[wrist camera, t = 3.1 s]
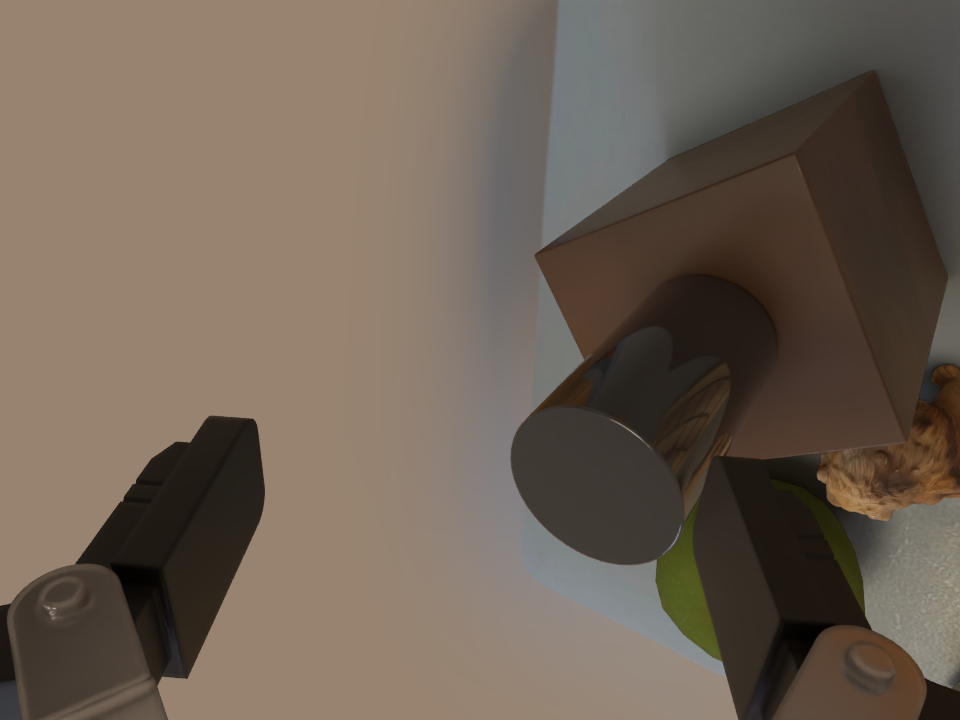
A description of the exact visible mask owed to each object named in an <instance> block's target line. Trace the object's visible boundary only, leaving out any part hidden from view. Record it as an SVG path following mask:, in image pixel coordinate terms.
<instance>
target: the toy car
mask: <svg viewBox="0 0 960 720" xmlns="http://www.w3.org/2000/svg"><path fill="white" fill-rule="evenodd" d="M952 689H954V690H957V691H960V681H959V682H958V683H957V684H956V685H955V686H954V687H953V688H952Z"/></svg>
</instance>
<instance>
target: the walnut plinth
mask: <svg viewBox="0 0 960 720" xmlns="http://www.w3.org/2000/svg"><path fill="white" fill-rule="evenodd" d="M535 258H536V260H537V262H538V264H539V266H540V268H541V270H542V273H543V275H544V277H545V279H546V281H547V283H548V285H549V287H550V289H551V291H552V293H553V295H554V298H555V300H556V302H557V304H558V306H559V308H560V310H561V312H562V314H563V316H564V318H565V320H566V322H567V325H568V327H569V329H570V331H571V333H572V335H573V337H574V339H575V341H576V343H577V345H578V347H579V350H580V352H581V354H582V356H583V358H584V360H585V359H586V358H587V357H588V356H589V354H590V353H591V352H592V351H593V350H594V349H595V348H596V347H597V346H598V345H599V344H600V343H601V342H602V341H603V340H604V339H605V338H606V337H607V336H608V335H609V334H610V333H611V332H612V331H613V330H614V329H615V328H616V327H617V326H618V325H619V324H620V323H621V322H622V321H623V320H624V319H625V318H626V317H627V316H628V315H629V314H630V313H631V312H632V311H633V310H634V309H635V308H636V307H637V306H638V305H639V304H640V303H641V302H642V301H643V300H644V299H645V298H646V297H647V295H648V294H649V293H650V292H651V291H652V290H654V289H655V288H656V287H658V286H659V285H661V284H662V283H664V282H666V281H668V280H671V279H673V278H677V277H681V276H687V275H706V276H713V277H716V278H720V279H723V280H726V281H728V282H731V283H733V284H735V285H737V286H738V287H740V288H742V289H743V290H745V291H746V292H747V293H749V294H750V295H751V296H752V297H753V298H754V299H756V300H757V301H758V303H759V304H760V305H761V306H762V307H763V308H764V310H765V311H766V313H767V314H768V316H769V318H770V320H771V322H772V324H773V326H774V329H775V332H776V337H777V342H778V356H777V362H776V365H775V369H774V371H773V373H772V375H771V377H770V379H769V381H768V382H767V384H766V386H765V388H764V389H763V391H762V393H761V395H760V397H759V398H758V400H757V402H756V404H755V405H754V407H753V409H752V411H751V413H750V414H749V416H748V418H747V420H746V421H745V423H744V425H743V427H742V428H741V430H740V432H739V434H738V436H737V437H736V439H735V441H734V443H733V444H732V446H731V448H730V450H729V452H728V453H727V455H726V456H730V457H743V458H756V459H760V460H763V459H772V458H781V457H789V456H798V455H807V454H816V453H824V452H833V451H842V450H850V449H859V448H868V447H877V446H885V445H894V444H903V443H907V442H908V438H909V433H910V429H911V425H912V421H913V417H914V413H915V409H916V405H917V401H918V397H919V393H920V389H921V385H922V381H923V377H924V373H925V369H926V365H927V361H928V357H929V353H930V349H931V345H932V341H933V337H934V333H935V329H936V325H937V321H938V317H939V313H940V309H941V305H942V301H943V297H944V292H945V288H946V284H947V280H948V277H947V274H946V272H945V269H944V266H943V263H942V260H941V257H940V255H939V252H938V249H937V246H936V243H935V240H934V238H933V235H932V232H931V229H930V226H929V223H928V220H927V218H926V215H925V212H924V209H923V206H922V203H921V201H920V198H919V195H918V192H917V189H916V186H915V183H914V181H913V178H912V175H911V172H910V169H909V166H908V164H907V161H906V158H905V155H904V152H903V149H902V147H901V144H900V141H899V138H898V135H897V132H896V129H895V127H894V124H893V121H892V118H891V115H890V112H889V110H888V107H887V104H886V101H885V98H884V95H883V93H882V90H881V87H880V84H879V81H878V78H877V75H876V73H875V71H874V70H872V71H869V72H867V73H865V74H862V75H860V76H858V77H856V78H853V79H851V80H849V81H846V82H844V83H842V84H840V85H837V86H835V87H833V88H830V89H828V90H826V91H824V92H821V93H819V94H817V95H815V96H812V97H810V98H808V99H805V100H803V101H801V102H799V103H796V104H794V105H792V106H789V107H787V108H785V109H783V110H780V111H778V112H776V113H773V114H771V115H769V116H767V117H764V118H762V119H760V120H757V121H755V122H753V123H751V124H748V125H746V126H744V127H742V128H739V129H737V130H735V131H732V132H730V133H728V134H726V135H723V136H721V137H719V138H716V139H714V140H712V141H710V142H707V143H705V144H703V145H700V146H698V147H696V148H694V149H691V150H689V151H687V152H685V153H682V154H680V155H678V156H675V157H673V158H671V159H669V160H667V161H665V162H664V163H663V164H661V165H660V166H658V167H657V168H656V169H654V170H653V171H651V172H650V173H648V174H647V175H646V176H644V177H643V178H641V179H640V180H639V181H637V182H636V183H634V184H633V185H632V186H630V187H629V188H627V189H626V190H625V191H623V192H622V193H620V194H619V195H618V196H616V197H615V198H613V199H612V200H611V201H609V202H608V203H606V204H605V205H603V206H602V207H601V208H599V209H598V210H596V211H595V212H594V213H592V214H591V215H589V216H588V217H587V218H585V219H584V220H582V221H581V222H580V223H578V224H577V225H575V226H574V227H573V228H571V229H570V230H568V231H567V232H566V233H564V234H563V235H561V236H560V237H558V238H557V239H556V240H554V241H553V242H551V243H550V244H549V245H547V246H546V247H544V248H543V249H542V250H540V251H539V252H537V253H536V254H535Z"/></svg>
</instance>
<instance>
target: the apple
mask: <svg viewBox="0 0 960 720" xmlns="http://www.w3.org/2000/svg"><path fill="white" fill-rule="evenodd" d="M770 480H771V482H772V484H773V486H774V488H775V489H779V490H790V491H791V492H792V493H793V494H795V495H796V496H797V497H798V498H799V499H800V500H801V501H802V502H803V503H804V504H805V505H806V506H807V507H808V508H809V509H810V510H811V511H812V512H813V513H814V515H815V517H816V519H817V521H818V523H819V525H820V527H821V529H822V531H823V533H824V535H825V536H824V539H825V540H827V541H828V543H829V545H830V547H831V549H832V551H833V553H834V560H837V561H838V563H839V565H840V567H841V569H842V571H843V573H844V575H845V577H846V579H847V581H848V583H849V585H850V587H851V589H852V591H853V593H854V595H855V597H856V599H857V601H858V603H859V605H860V607H861V609H862V611H863V613H864V615H865V605H864V590H863V580H862V576H861V572H860V568H859V564H858V561H857V557H856V553H855V550H854V548H853V546H852V544H851V542H850V540H849V538H848V536H847V534H846V532H845V530H844V528H843V526H842V524H841V523H840V522H839V520H838V519H837V518H836V517H835V516H834V514H833V513H832V512H831V511H830V509H829V508H828V507H827V506H826V505H825V504H824V503H823V502H821V501H820V500H819V499H817V498H816V497H815V496H813V495H812V494H810V493H809V492H808V491H806V490H805V489H804V488H802V487H799V486H796V485H792V484H789V483H786V482H782V481H779V480H776V479H770ZM698 506H699V505H698ZM697 510H698V507H697V508H696V510H695V512H694V514H693V515H692V517H691V519H690V521H689V522H688V524H687V526H686V528H685V530H684V531H683V533H682V535H681V537H680V538H679V540H678V542H677V543H676V544H675V546H674V547H673V548H672V549H671V550H670V551H669V552H668V553H666V554H665V555H663V556H662V557H660V558H658V559H657V568H656V584H657V588H658V592H659V596H660V600H661V604H662V608H663V609H664V611H665V612H666V613H667V614H668V616H669V617H670V618H671V619H672V621H673V622H674V623H675V624H676V626H677V627H678V628H679V629H680V631H681V632H682V633H683V635H685V636H686V637H687V638H688V639H690V640H691V641H692V642H694V643H695V644H696V645H698V646H699V647H700V648H701V649H703V650H704V651H705V652H707V653H708V654H709V655H710V656H712V657H713V658H715V659H718V660H720V661H722V658H721V654H720V650H719V647H718V643H717V639H716V636H715V632H714V628H713V625H712V621H711V617H710V614H709V610H708V606H707V603H706V599H705V595H704V592H703V588H702V584H701V581H700V577H699V573H698V570H697V566H696V562H695V558H694V553H693V527H694V522H695V517H696V514H697Z"/></svg>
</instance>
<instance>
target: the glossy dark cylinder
mask: <svg viewBox="0 0 960 720" xmlns="http://www.w3.org/2000/svg"><path fill="white" fill-rule="evenodd" d="M777 356H778V342H777V337H776V332H775V329H774V326H773V324H772V322H771V320H770V318H769V316H768V314H767V313H766V311H765V310H764V308H763V307H762V306H761V305H760V304H759V303H758V301H757V300H756V299H754V298H753V297H752V296H751V295H750V294H749V293H747V292H746V291H745V290H743V289H742V288H740V287H738V286H737V285H735V284H733V283H731V282H728V281H726V280H723V279H720V278H716V277H713V276H706V275H687V276H681V277H677V278H673V279H671V280H668V281H666V282H664V283H662V284H661V285H659V286H658V287H656V288H655V289H654V290H652V291H651V292H650V293H649V294H648V295H647V297H646V298H645V299H644V300H643V301H642V302H641V303H640V304H639V305H638V306H637V307H636V308H635V309H634V310H633V311H632V312H631V313H630V314H629V315H628V316H627V317H626V318H625V319H624V320H623V321H622V322H621V323H620V324H619V325H618V326H617V327H616V328H615V329H614V330H613V331H612V332H611V333H610V334H609V335H608V336H607V337H606V338H605V339H604V340H603V341H602V342H601V343H600V344H599V345H598V346H597V347H596V348H595V349H594V350H593V351H592V352H591V353H590V354H589V356H588V357H587V358H586V359H585V360H584V361H583V362H582V363H581V364H580V365H579V366H578V367H577V368H576V369H575V370H574V371H573V372H572V373H571V374H570V375H569V376H568V377H567V378H566V379H565V380H564V381H563V382H562V383H561V384H560V385H559V386H558V387H557V388H556V389H555V390H554V391H553V392H552V393H551V394H550V395H549V396H548V397H547V398H546V399H545V400H544V401H543V402H542V403H541V404H540V405H539V406H538V407H537V408H536V409H535V410H534V411H533V412H532V413H531V415H530V416H529V417H528V418H527V419H526V420H525V421H524V422H523V423H522V424H521V426H520V427H519V428H518V430H517V432H516V434H515V436H514V439H513V443H512V447H511V469H512V473H513V478H514V481H515V483H516V487H517V489H518V490H519V493H520V495H521V497H522V499H523V501H524V502H525V504H526V506H527V507H528V508H529V510H530V511H531V513H532V514H533V515H534V516H535V518H536V519H537V520H538V521H539V522H540V523H541V524H542V525H543V526H544V527H545V528H546V529H547V530H548V531H549V532H550V533H551V534H552V535H554V536H555V537H556V538H557V539H559V540H560V541H561V542H563V543H564V544H566V545H567V546H569V547H570V548H572V549H574V550H576V551H577V552H579V553H581V554H584V555H586V556H588V557H591V558H593V559H596V560H599V561H603V562H606V563H611V564H617V565H639V564H644V563H648V562H651V561H654V560H656V559H658V558H660V557H662V556H663V555H665V554H666V553H668V552H669V551H670V550H671V549H672V548H673V547H674V546H675V544H676V543H677V542H678V540H679V538H680V537H681V535H682V533H683V531H684V530H685V528H686V526H687V524H688V522H689V521H690V519H691V517H692V515H693V514H694V512H695V510H696V508H697V507H698V505H699V502H700V499H701V495H702V491H703V487H704V483H705V480H706V476H707V472H708V468H709V465H710V462H711V460H712V458H713V457H714V456H716V455H717V456H726V455H727V453H728V452H729V450H730V448H731V446H732V444H733V443H734V441H735V439H736V437H737V436H738V434H739V432H740V430H741V428H742V427H743V425H744V423H745V421H746V420H747V418H748V416H749V414H750V413H751V411H752V409H753V407H754V405H755V404H756V402H757V400H758V398H759V397H760V395H761V393H762V391H763V389H764V388H765V386H766V384H767V382H768V381H769V379H770V377H771V375H772V373H773V371H774V369H775V365H776V362H777Z"/></svg>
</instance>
